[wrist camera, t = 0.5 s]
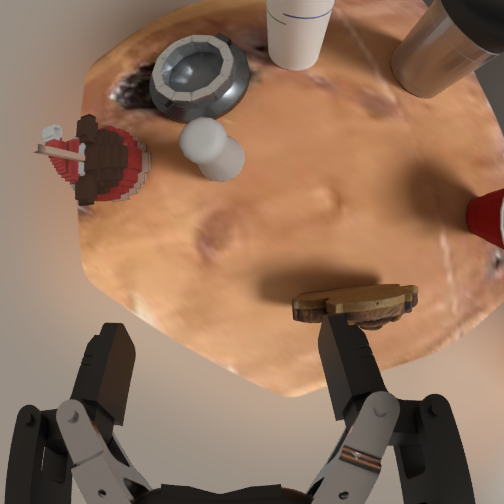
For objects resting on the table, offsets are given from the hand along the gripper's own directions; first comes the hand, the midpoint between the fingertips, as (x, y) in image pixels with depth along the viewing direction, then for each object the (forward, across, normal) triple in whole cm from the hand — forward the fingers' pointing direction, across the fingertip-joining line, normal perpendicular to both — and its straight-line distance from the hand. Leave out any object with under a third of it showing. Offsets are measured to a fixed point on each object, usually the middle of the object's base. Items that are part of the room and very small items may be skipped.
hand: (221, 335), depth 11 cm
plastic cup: (+21, -38, +7) cm, 44 cm away
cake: (+31, +15, +2) cm, 34 cm away
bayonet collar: (+35, +4, -9) cm, 36 cm away
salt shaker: (+29, 0, +2) cm, 29 cm away
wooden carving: (+19, -15, +17) cm, 30 cm away
